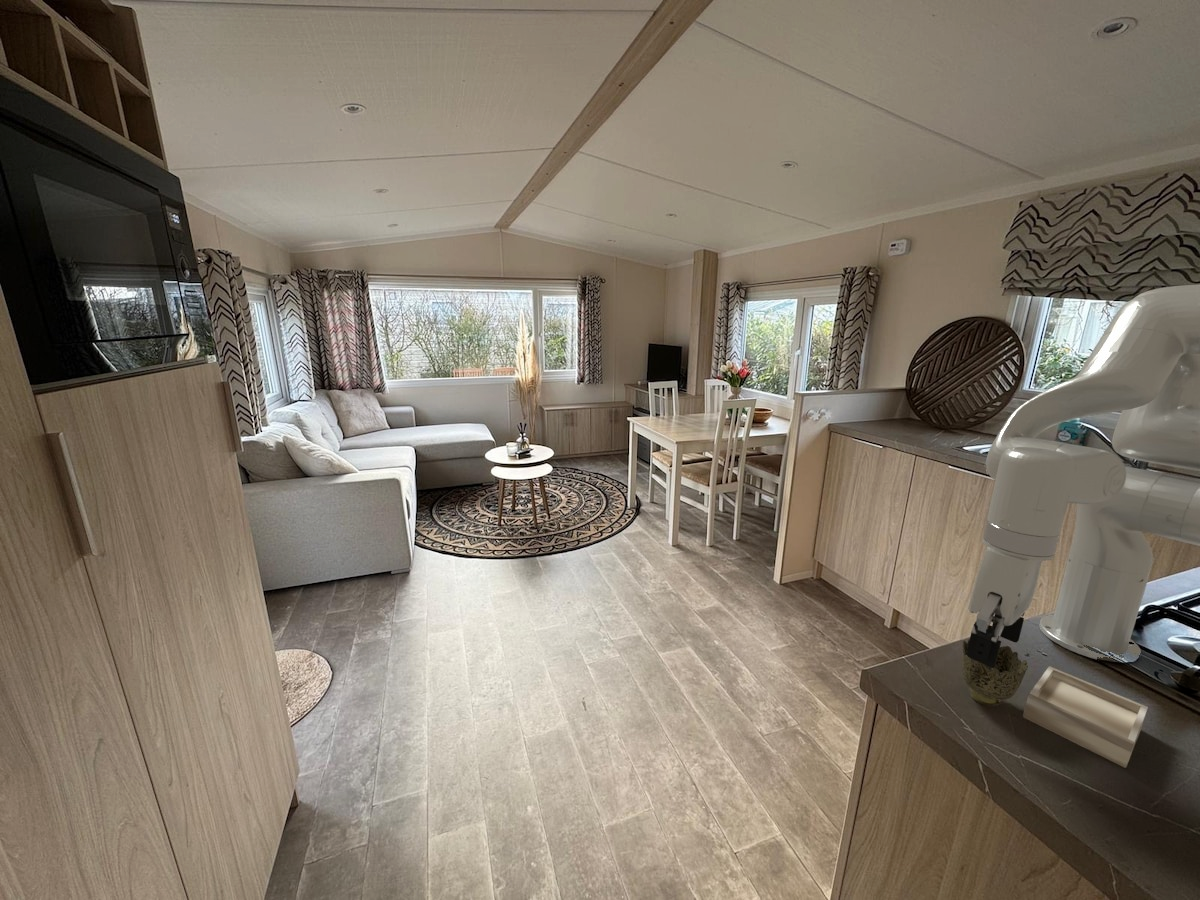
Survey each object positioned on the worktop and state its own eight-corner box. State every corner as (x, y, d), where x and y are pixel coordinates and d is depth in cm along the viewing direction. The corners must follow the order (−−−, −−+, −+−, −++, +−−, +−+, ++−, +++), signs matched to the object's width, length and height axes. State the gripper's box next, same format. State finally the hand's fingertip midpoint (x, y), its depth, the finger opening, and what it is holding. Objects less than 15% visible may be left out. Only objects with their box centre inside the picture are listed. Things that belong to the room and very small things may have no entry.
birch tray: (1044, 686, 74) (1049, 665, 73) (1140, 729, 66) (1148, 707, 65) (1022, 717, 69) (1028, 695, 68) (1125, 768, 61) (1133, 744, 60)
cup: (1028, 722, 68) (1041, 674, 66) (969, 715, 69) (979, 667, 67) (997, 685, 75) (1008, 640, 73) (944, 679, 76) (953, 635, 74)
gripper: (1005, 517, 73) (983, 617, 77) (961, 543, 63) (938, 656, 67) (1072, 534, 67) (1044, 641, 71) (1035, 565, 58) (1004, 688, 62)
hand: (992, 648), depth 69 cm, fingers open, 9 cm apart
